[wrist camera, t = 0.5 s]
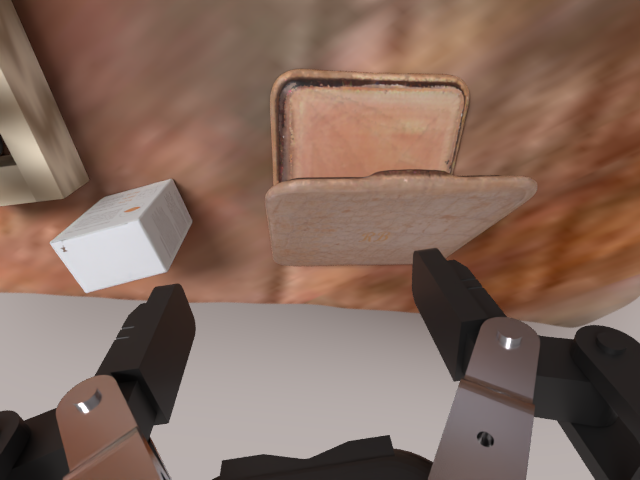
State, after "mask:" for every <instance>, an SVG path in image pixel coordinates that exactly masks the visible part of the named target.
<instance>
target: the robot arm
mask: <svg viewBox="0 0 640 480" xmlns="http://www.w3.org/2000/svg"><path fill="white" fill-rule="evenodd" d="M412 292H413V297H414V301H415V304H416V306H417V308H418V310H419V312H420V314H421V316H422V318H423V320H424V322H425V324H426V326H427V328H428V330H429V332H430V334H431V336H432V338H433V340H434V342H435V344H436V346H437V348H438V350H439V352H440V354H441V356H442V358H443V360H444V362H445V364H446V366H447V368H448V370H449V372H450V374H451V376H452V378H453V381H460V383H459V386H458V389H457V392H456V395H455V398H454V401H453V404H452V407H451V411H450V413H449V416H448V419H447V422H446V426H445V429H444V432H443V434H442V438H441V441H440V443H439V446H438V450H437V453H436V456H435V459H434V462H432V461H430V460H427V459H426V458H424V457H422V456H420V455H417V454H414V453H412V452H408V451H404V450H400V449H393V446H392V442H391V439H390V435H387V436H380V437H374V438H367V439H360V440H354V441H348V442H346V443H344V444H341V445H339V446H337V447H334V448H332V449H330V450H328V451H325V452H323V453H321V454H319V455H316V456H314V457H312V458H309V459H298V458H290V457H282V456H274V455H265V454H262V455H256V456H249V457H243V458H236V459H229V460H223V461H222V465H221V472H220V476H218V477H216V478H214V479H212V480H526V475H527V467H528V459H529V451H530V443H531V435H532V427H533V419H534V417H540V418H545V419H552V420H557V421H558V423H559V424H560V426H561V427H562V429H563V430H564V432H565V433H566V435H567V437H568V438H569V440H570V441H571V443H572V444H573V446H574V448H575V449H576V451H577V452H578V454H579V455H580V457H581V458H582V460H583V462H584V463H585V465H586V466H587V468H588V469H589V471H590V472H591V474H592V476H593V477H594V478H595V480H640V343H638V342H637V341H636V340H635V339H633V338H632V337H630V336H629V335H627V334H625V333H623V332H621V331H619V330H616V329H613V328H610V327H605V326H599V325H598V326H597V325H590V326H585V327H582V328H580V329H579V330H578V331H577V332H576V335H575V338H574V339H564V338H554V337H545V336H539V335H537V333H536V332H535V331H534V330H533V329H532V328H531V327H530V326H528V325H527V324H525V323H523V322H521V321H519V320H516V319H513V318H508V317H507V316H506V315H505V314H504V313H503V311H502V310H501V309H500V308H499V306H498V305H497V304H496V303H495V301H494V300H493V299H492V298H491V296H490V295H489V294H488V293H487V291H486V290H485V289H484V288H482V285H481V284H480V283H479V281H478V280H476V279H475V276H474V275H473V274H472V273H471V271H470V270H469V269H468V268H467V267H466V266H464V265H462V264H461V263H459V262H457V261H456V260H449V261H447V260H446V259H445V258H444V256H443V255H442V254H441V252H440V251H439V250H438V248H430V249H423V250H416V251H414V253H413V270H412ZM195 330H196V327H195V320H194V316H193V314H192V311H191V308H190V306H189V303H188V301H187V298H186V295H185V293H184V290H183V288H182V286H181V285H180V284H172V285H165V286H158V287H155V288H154V289H153V291H152V293H151V295H150V297H149V299H148V301H147V303H143V304H140V305H139V306H138V307H137V308H136V309H135V310H134V311H133V312H132V313H131V314H130V315H129V316H128V318H127V319H126V321H125V323H124V324H123V326H122V330H120V332H119V333H118V335H117V337H116V340H115V341H114V342H113V344H112V346H111V348H110V349H109V351H108V353H107V355H106V357H105V358H104V360H103V362H102V364H101V366H100V367H99V369H98V371H97V373H96V374H95V376H94V377H91V378H89V379H86V380H84V381H82V382H80V383H79V384H77V385H76V386H75V387H73V388H72V389H71V390H70V391H68V392H67V394H66V395H65V396H64V397H63V398H62V399H61V401H60V402H59V404H58V406H57V408H55V409H53V410H50V411H48V412H45V413H43V414H40V415H38V416H35V417H33V418H30V419H27V420H25V421H23V419H22V418H21V417H20V416H19V415H18V414H17V413H16V412H14V411H1V412H0V480H172V479H171V477H170V475H169V473H168V471H167V469H166V467H165V465H164V463H163V461H162V459H161V457H160V455H159V453H158V451H157V449H156V447H155V445H154V443H153V441H152V440H151V438H150V434H151V431H152V428H153V425H160V424H167V423H169V420H170V417H171V413H172V410H173V407H174V403H175V400H176V397H177V393H178V390H179V386H180V383H181V380H182V376H183V373H184V370H185V366H186V363H187V360H188V356H189V353H190V350H191V347H192V343H193V340H194V337H195Z"/></svg>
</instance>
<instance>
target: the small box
mask: <svg viewBox="0 0 640 480" xmlns="http://www.w3.org/2000/svg"><path fill="white" fill-rule="evenodd" d="M191 224H192V219H191V217H190V215H189V213H188V210H187V208H186V206H185V204H184V202H183V200H182V198H181V196H180V193H179V191H178V189H177V187H176V185H175V183H174V181H173V179H168V180H165V181H161V182H158V183H154V184H150V185H146V186H143V187H139V188H135V189H132V190H128V191H124V192H121V193H117V194H113V195H110V196H105V197H103V198H102V199H101V200H99V201H98V202H97V203H96V204H95V205H93V206H92V207H91V208H90V209H89V210H87V211H86V212H85V213H84V214H83V215H81V216H80V217H79V218H78V219H77V220H76V221H74V222H73V223H72V224H71V225H70V226H69V227H67V228H66V229H65V230H64V231H63V232H61V233H60V234H59V235H58V236H57V237H56V238H54V239H53V240H52V241H51V242H50V244H51V246H52V247H53V249H54V250H55V251H56V253H57V254H58V256H59V257H60V258H61V260H62V261H63V263H64V264H65V265H66V267H67V268H68V269H69V271H70V272H71V273H72V275H73V276H74V278H75V279H76V280H77V282H78V283H79V285H80V286H81V287H82V288H83V290H84V291H85V293H89V292H93V291H97V290H101V289H105V288H108V287H112V286H116V285H120V284H123V283H127V282H131V281H135V280H139V279H142V278H146V277H150V276H154V275H158V274H162V273H166V272H168V270H169V268H170V266H171V264H172V262H173V260H174V258H175V256H176V254H177V252H178V250H179V248H180V246H181V244H182V242H183V240H184V238H185V236H186V234H187V232H188V230H189V228H190V226H191Z"/></svg>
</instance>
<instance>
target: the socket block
mask: <svg viewBox="0 0 640 480" xmlns="http://www.w3.org/2000/svg"><path fill="white" fill-rule="evenodd" d="M0 134H1V136H2V138H3V140H4V142H5V143H6V145H7V147H8V149H9V151H10V153H11V155H5V156H0V206H7V205H15V204H23V203H32V202H40V201H48V200H57V199H64V198H66V197H67V196H68V195H70V194H71V193H73V192H74V191H76V190H77V189H78V188H80V187H81V186H83V185H84V184H86V183H87V182H88V181H90V180H89V178H88V175H87V173H86V171H85V168H84V166H83V164H82V161H81V159H80V157H79V155H78V152H77V150H76V148H75V145H74V143H73V141H72V138H71V136H70V134H69V132H68V129H67V127H66V125H65V122H64V120H63V118H62V116H61V113H60V111H59V109H58V106H57V104H56V102H55V99H54V97H53V95H52V93H51V90H50V88H49V86H48V83H47V81H46V79H45V77H44V74H43V72H42V70H41V67H40V65H39V63H38V60H37V58H36V56H35V54H34V51H33V49H32V47H31V44H30V42H29V40H28V37H27V35H26V33H25V31H24V28H23V26H22V24H21V21H20V19H19V17H18V15H17V12H16V10H15V8H14V5H13V3H12V1H11V0H0Z"/></svg>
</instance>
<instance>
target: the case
mask: <svg viewBox="0 0 640 480" xmlns="http://www.w3.org/2000/svg"><path fill="white" fill-rule="evenodd" d="M468 105H469V90H468V87H467V85H466V84H465V82H464V81H463V80H461V79H460V78H458V77H456V76H452V75H446V74H395V73H367V72H347V71H329V70H311V69H294V70H289V71H287V72H285V73H283V74H282V75H280V76H279V77H278V78H277V79H276V81H275V83H274V85H273V87H272V91H271V96H270V114H271V138H272V158H273V187H271V188H270V189H269V190H268V192H267V193H266V196H265V207H266V213H267V219H268V227H269V234H270V240H271V247H272V255H273V259H274V261H275V262H276V263H278V264H281V265H286V266H327V265H386V264H413V253H414V251H416V250H423V249H430V248H438V250H439V251H440V252H441V254H442V255H443V256H444V258H446V257H448V256H449V255H451V254H452V253H453V252H455V251H456V250H458V249H459V248H461V247H462V246H463V245H465V244H466V243H468V242H469V241H471V240H472V239H473V238H475V237H477V236H478V235H479V234H481V233H482V232H484V231H485V230H486V229H488V228H489V227H491V226H492V225H494V224H495V223H496V222H498V221H499V220H501V219H502V218H504V217H505V216H507V215H508V214H509V213H510V212H512V211H514V210H515V209H516V208H518V207H519V206H521V205H522V204H524V203H525V202H526V201H528V200H529V199H530V198H531V197H532V196H533V195H534V194H535V193H536V191H537V183H536V181H535V180H533V179H532V178H530V177H526V176H499V175H491V176H481V175H480V176H453V175H452V174H453V170H454V166H455V161H456V157H457V152H458V148H459V143H460V139H461V135H462V131H463V126H464V122H465V117H466V113H467V109H468Z"/></svg>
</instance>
